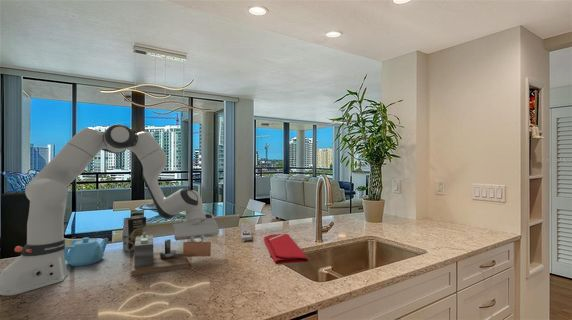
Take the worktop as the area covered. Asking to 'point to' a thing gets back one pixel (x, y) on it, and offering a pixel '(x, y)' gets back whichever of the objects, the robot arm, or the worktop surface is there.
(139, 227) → the coffee box
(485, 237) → the worktop surface
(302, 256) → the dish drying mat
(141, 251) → the stand
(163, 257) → the wooden lever
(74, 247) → the teapot
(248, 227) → the mobile phone
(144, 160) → the robot arm
